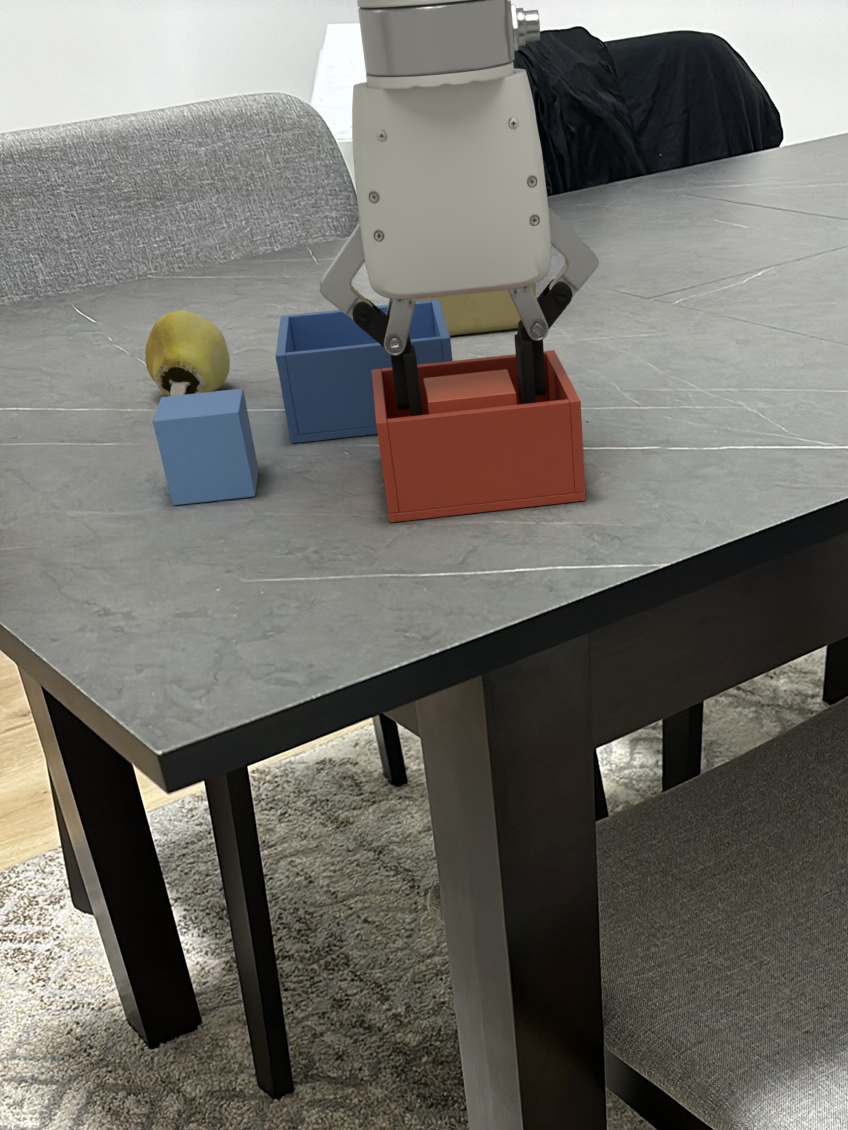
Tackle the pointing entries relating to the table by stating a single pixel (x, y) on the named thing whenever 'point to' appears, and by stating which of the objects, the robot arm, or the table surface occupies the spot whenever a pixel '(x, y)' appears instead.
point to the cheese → (479, 311)
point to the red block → (469, 391)
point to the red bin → (480, 446)
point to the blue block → (206, 446)
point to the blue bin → (343, 369)
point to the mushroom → (186, 354)
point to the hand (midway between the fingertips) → (472, 412)
